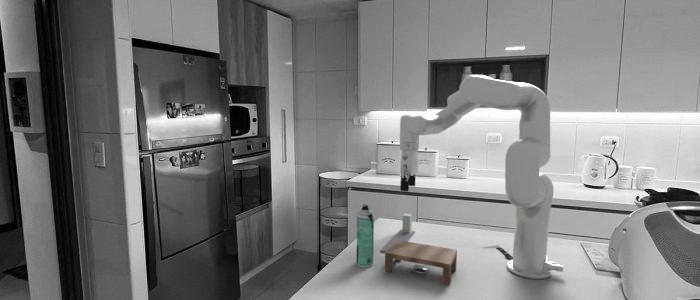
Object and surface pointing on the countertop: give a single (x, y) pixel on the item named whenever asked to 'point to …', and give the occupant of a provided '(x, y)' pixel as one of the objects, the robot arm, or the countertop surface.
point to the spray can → (365, 237)
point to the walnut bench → (422, 257)
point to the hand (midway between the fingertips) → (407, 188)
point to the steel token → (420, 269)
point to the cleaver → (502, 252)
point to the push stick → (401, 232)
